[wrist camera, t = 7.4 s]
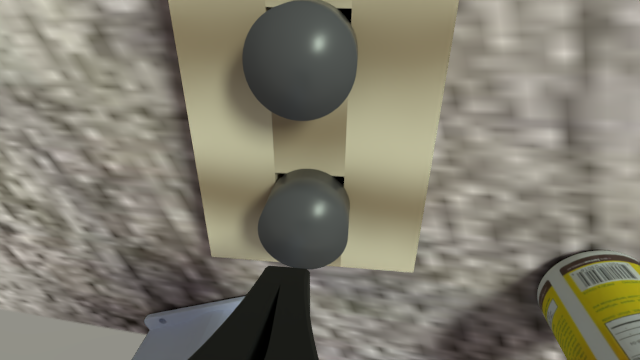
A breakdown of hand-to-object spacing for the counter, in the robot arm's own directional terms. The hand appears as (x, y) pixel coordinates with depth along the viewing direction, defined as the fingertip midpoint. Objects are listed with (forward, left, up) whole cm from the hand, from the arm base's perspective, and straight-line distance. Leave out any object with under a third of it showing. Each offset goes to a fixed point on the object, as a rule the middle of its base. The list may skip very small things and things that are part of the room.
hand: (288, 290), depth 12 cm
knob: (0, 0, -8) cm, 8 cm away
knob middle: (+2, +6, -8) cm, 11 cm away
